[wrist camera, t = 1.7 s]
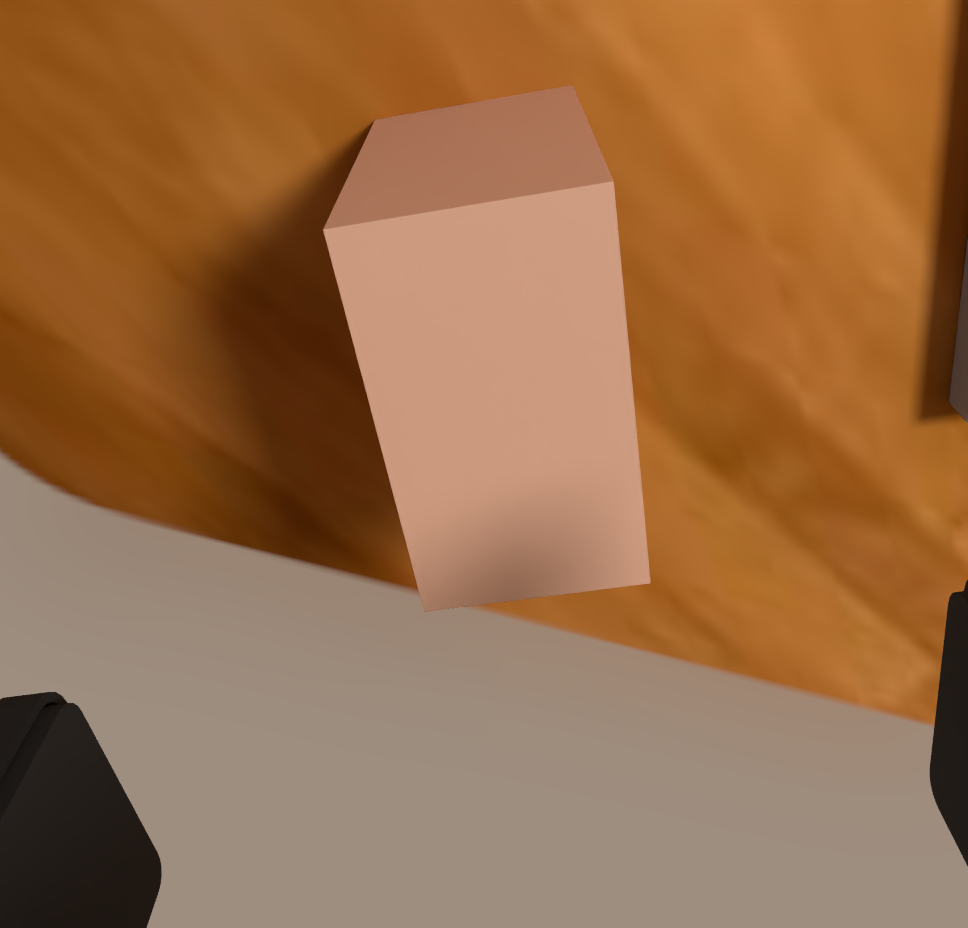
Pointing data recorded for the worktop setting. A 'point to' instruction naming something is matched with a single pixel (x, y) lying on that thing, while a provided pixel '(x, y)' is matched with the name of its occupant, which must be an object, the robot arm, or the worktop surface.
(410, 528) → the key block
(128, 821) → the robot arm
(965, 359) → the nest board
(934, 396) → the worktop surface
